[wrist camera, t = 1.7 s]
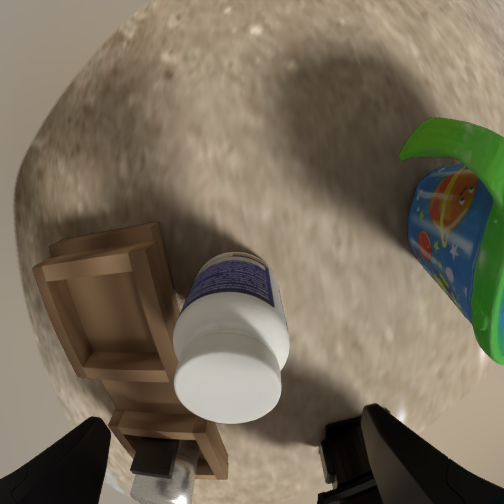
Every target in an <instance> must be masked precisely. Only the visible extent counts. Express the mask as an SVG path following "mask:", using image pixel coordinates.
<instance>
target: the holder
mask: <svg viewBox="0 0 504 504" xmlns="http://www.w3.org/2000/svg"><path fill="white" fill-rule="evenodd" d="M49 250H50V254H51V257H50V258H48V259H46V260H44V261H43V262H41V263H39V264H37V265H36V266H34V267H32V270H33V273H34V276H35V279H36V282H37V285H38V288H39V291H40V294H41V296H42V299H43V302H44V305H45V307H46V310H47V312H48V315H49V317H50V320H51V322H52V325H53V327H54V329H55V331H56V334H57V336H58V338H59V340H60V343H61V345H62V347H63V349H64V351H65V353H66V355H67V357H68V359H69V361H70V363H71V365H72V367H73V369H74V371H75V372H76V374H77V376H78V377H81V378H91V379H100V380H101V382H102V383H103V385H104V387H105V389H106V391H107V393H108V394H109V396H110V398H111V400H112V401H113V403H114V405H115V406H116V408H117V410H115V411H114V413H113V416H112V418H111V420H110V422H109V424H108V426H109V428H110V429H111V431H112V432H113V433H114V435H115V436H116V438H117V439H118V440H119V442H120V443H121V444H122V446H123V447H124V448H125V449H126V451H127V452H128V453H129V455H130V456H131V457H132V458H133V459H134V456H135V453H136V450H137V447H138V444H139V441H140V438H141V436H142V437H152V438H165V439H182V440H196V441H197V443H198V445H199V447H200V449H199V455H198V462H197V468H196V475H195V479H217V480H227V479H228V454H227V452H226V449H225V447H224V444H223V442H222V439H221V437H220V434H219V432H218V429H217V426H216V424H215V422H214V421H210V420H207V419H204V418H202V417H200V416H198V415H196V414H194V413H193V412H191V411H190V410H188V409H187V408H186V407H185V406H184V405H183V404H182V403H181V401H180V400H179V398H178V397H177V395H176V392H175V389H174V376H175V372H176V369H177V366H178V363H179V362H178V360H177V357H176V355H175V351H174V347H173V333H174V329H175V325H176V322H177V320H178V317H179V315H180V311H179V308H178V304H177V300H176V296H175V292H174V288H173V284H172V280H171V276H170V272H169V267H168V263H167V259H166V254H165V250H164V245H163V240H162V235H161V231H160V226H159V222H155V223H149V224H143V225H138V226H132V227H126V228H121V229H116V230H110V231H105V232H100V233H95V234H90V235H85V236H80V237H75V238H71V239H66V240H61V241H59V242H57V243H55V244H53V245H51V246H49Z"/></svg>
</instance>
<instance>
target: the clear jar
mask: <svg viewBox="0 0 504 504" xmlns="http://www.w3.org/2000/svg"><path fill="white" fill-rule="evenodd" d="M199 449H200V447H199V445H198V443H197V441H196V440H182V439H165V438H152V437H142V436H141V438H140V441H139V444H138V447H137V450H136V453H135V456H134V459H133V462H132V465H131V468H130V471H131V472H132V473H133V474H136V475H135V479H134V482H133V485H132V489H131V492H130V495H131V497H132V498H133V499H135V500H136V501H138V502H139V503H141V504H191V503H192V496H193V489H194V482H195V475H196V468H197V462H198V455H199Z"/></svg>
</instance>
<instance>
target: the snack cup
mask: <svg viewBox="0 0 504 504" xmlns="http://www.w3.org/2000/svg"><path fill="white" fill-rule="evenodd" d="M414 157H416V158H423V157H430V158H433V157H436V158H456V159H457V160H459V161H460V163H454V164H451V165H446V166H442V167H440V168H438V169H436V170H434V171H433V172H431V173H430V174H429V175H427V176H426V177H425V178H424V179H423V180H421V181H420V182H419V184H418V186H417V188H416V190H415V192H416V193H415V195H414V198H413V201H412V205H411V208H410V211H409V217H408V227H409V232H408V236H407V237H408V240H409V244H410V246H411V248H412V249H413V251H414V253H415V256H416V258H417V259H418V261H419V262H420V264H421V265H422V266H423V268H424V269H425V270H426V271H427V272H428V273H429V274H430V275H431V277H432V278H433V279H434V280H435V281H436V282H437V283H438V285H439V286H440V287H441V288H442V289H443V291H444V292H445V293H446V294H447V295H448V296H449V298H450V299H451V300H452V301H453V302H454V304H455V305H456V306H457V307H458V309H459V310H460V311H461V312H462V314H463V315H464V316H465V317H466V318H467V319H468V320H469V321H470V323H471V324H472V326H473V329H474V333H475V337H476V340H477V342H478V343H479V345H480V347H481V348H482V349H483V351H484V352H485V353H486V354H487V355H488V356H489V357H490V358H491V359H493V360H494V361H495V362H496V363H498V364H500V365H504V137H502V136H501V135H499V134H497V133H495V132H493V131H491V130H489V129H487V128H484V127H481V126H478V125H475V124H472V123H468V122H464V121H459V120H454V119H447V118H440V117H438V118H436V117H435V118H429V119H427V120H426V121H424V122H422V123H421V125H420V126H419V127H418V128H417V129H416V130H415V131H414V132H413V134H412V135H411V136H410V137H409V139H408V141H407V142H406V143H405V145H404V146H403V148H402V149H401V151H400V153H399V159H400V161H404V160H406V159H408V158H414Z"/></svg>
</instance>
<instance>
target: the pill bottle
mask: <svg viewBox="0 0 504 504" xmlns="http://www.w3.org/2000/svg"><path fill="white" fill-rule="evenodd" d="M173 347H174V351H175V355H176V357H177V360H178V362H179V363H178V366H177V369H176V372H175V376H174V389H175V392H176V395H177V397H178V398H179V400H180V401H181V403H182V404H183V405H184V406H185V407H186V408H187V409H188V410H190V411H191V412H193V413H194V414H196V415H198V416H200V417H202V418H204V419H207V420H210V421H214V422H218V423H227V424H236V423H244V422H249V421H253V420H256V419H258V418H260V417H262V416H264V415H265V414H267V413H268V412H270V411H271V410H272V409H273V408H274V407H275V405H276V404H277V403H278V401H279V398H280V395H281V374H280V371H281V370H282V368H283V367H284V365H285V363H286V361H287V358H288V355H289V348H290V341H289V333H288V328H287V323H286V319H285V315H284V311H283V306H282V301H281V296H280V291H279V286H278V282H277V279H276V277H275V275H274V273H273V271H272V270H271V268H270V267H269V266H268V265H267V264H266V263H265V262H264V261H262V260H261V259H259V258H258V257H256V256H254V255H251V254H248V253H244V252H227V253H223V254H220V255H217V256H215V257H213V258H212V259H210V260H209V261H208V262H206V263H205V264H204V265H203V267H202V268H201V269H200V271H199V272H198V274H197V276H196V278H195V281H194V283H193V285H192V287H191V290H190V292H189V294H188V297H187V299H186V301H185V303H184V306H183V308H182V310H181V313H180V315H179V317H178V320H177V322H176V325H175V329H174V333H173Z"/></svg>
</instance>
